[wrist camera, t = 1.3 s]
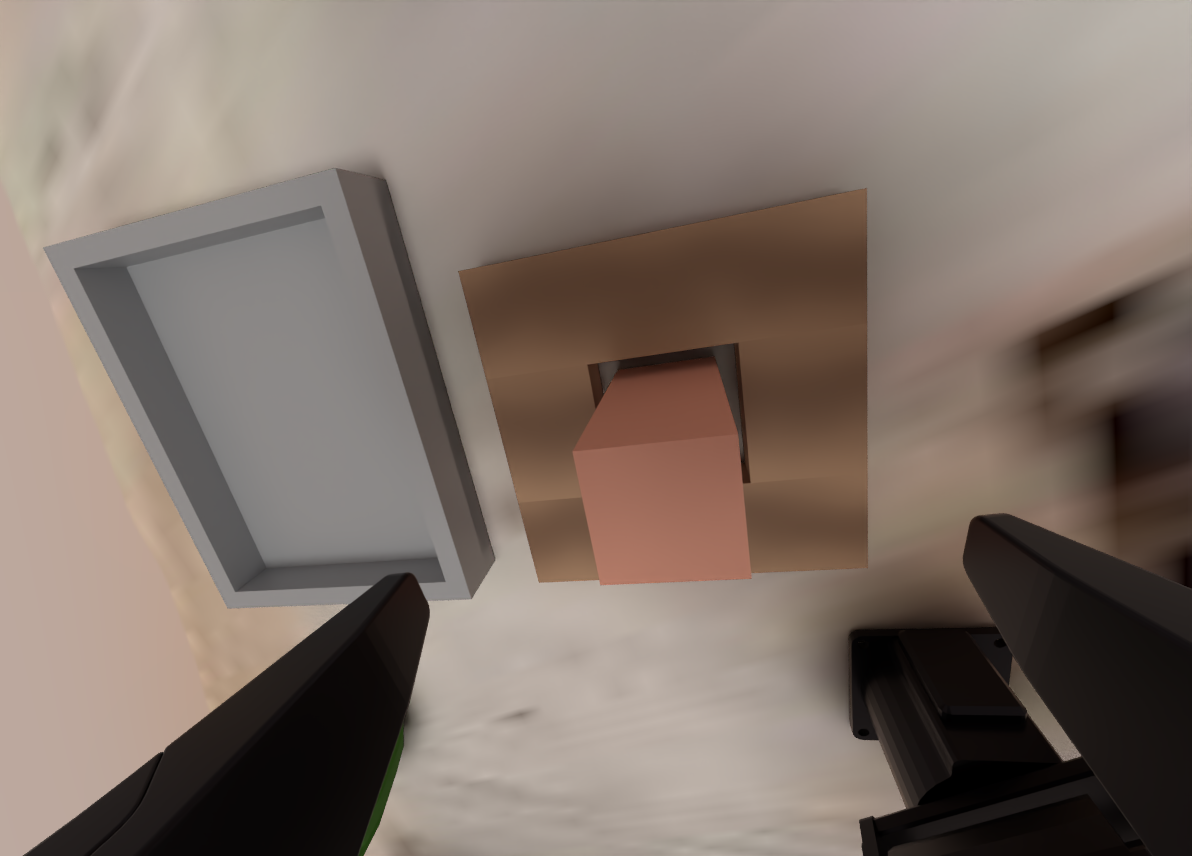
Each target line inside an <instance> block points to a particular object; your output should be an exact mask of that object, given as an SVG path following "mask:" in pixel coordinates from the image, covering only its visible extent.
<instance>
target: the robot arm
mask: <svg viewBox="0 0 1192 856" xmlns="http://www.w3.org/2000/svg"><path fill="white" fill-rule="evenodd" d="M963 564H964V568H965V571H966V573H967V575H968V577H969V579H970V581H971V583H972V584H973V586H974V588H975V590H976V591H977V593H978V595H979V597H980V598H981V600H982V602H983V604H984V605H985V607H986V609H987V611H988V612H989V614H990V616H991V618H992V619H993V621H994V623H995V625H996V627H982V628H929V629H877V630H856V631H854V632H852V633H851V634H850V635H849V692H850V726H851V729H852V732H853V735H854V736H855V737H856V738H858V739H862V740H879V742H880V744H881V746H882V749H883V751H884V754H885V756H886V759H887V761H888V764H889V766H890V769H891V771H892V774H893V776H894V779H895V781H896V784H897V786H898V789H899V791H900V794H901V796H902V799H903V801H904V804H905V806H906V809H904V810H901V811H898V812H894V813H891V814H888V815H884V816H881V817H878V818H874V817H873V816H870V817H867V818H864V819H860V820H859V823H860V829H861V836H862V842H863V843H862V851H863V856H1192V589H1191V588H1188V587H1186V586H1183V585H1181V584H1178V583H1176V582H1173V581H1171V580H1169V579H1166V578H1164V577H1161V576H1159V575H1156V574H1154V573H1152V572H1149V571H1147V570H1144V569H1142V568H1139V567H1137V566H1134V565H1132V564H1130V563H1127V562H1125V561H1122V560H1120V559H1117V558H1115V557H1112V556H1110V555H1108V554H1105V553H1103V552H1100V551H1098V550H1095V549H1093V548H1090V547H1088V546H1086V545H1083V544H1081V543H1078V542H1076V541H1073V540H1071V539H1068V538H1066V537H1064V536H1061V535H1059V534H1056V533H1054V532H1051V531H1049V530H1047V529H1044V528H1042V527H1039V526H1037V525H1034V524H1032V523H1029V522H1027V521H1025V520H1022V519H1020V518H1017V517H1015V516H1012V515H1010V514H1005V513H999V514H988V515H979V516H976V517H974V518H973V519H972V520H971V522H970V525H969V530H968V535H967V539H966V544H965V549H964V554H963ZM429 617H430V609H429V605H428V602H427V600H426V598H425V596H424V594H423V591H422V589H421V587H420V585H419V583H418V581H417V579H416V577H415V575H414V574H412V573H410V572H402V573H392V574H388V575H386V576H385V577H384V578H382V579H381V580H380V581H378V582H377V583H376V584H375V585H373V586H372V587H371V588H369V589H368V590H367V591H366V592H364V593H363V594H362V595H361V596H359V597H358V598H357V599H355V600H354V601H353V602H352V603H350V604H349V605H348V606H346V607H345V608H344V609H343V610H341V611H340V612H339V613H337V614H336V615H335V616H334V617H332V618H331V619H330V620H329V621H327V622H326V623H325V624H323V625H322V626H321V627H320V628H318V629H317V630H316V631H314V632H313V633H312V634H311V635H309V636H308V637H307V638H306V639H304V640H303V641H302V642H300V643H299V644H298V645H297V646H295V647H294V648H293V649H291V650H290V651H289V652H288V653H286V654H285V655H284V656H282V657H281V658H280V659H279V660H277V661H276V662H275V663H274V664H272V665H271V666H270V667H268V668H267V669H266V670H265V671H263V672H262V673H261V674H259V675H258V676H257V677H256V678H254V679H253V680H252V681H250V682H249V683H248V684H247V685H245V686H244V687H243V688H242V689H240V690H239V691H238V692H236V693H235V694H234V695H233V696H231V697H230V698H229V699H227V700H226V701H225V702H224V703H222V704H221V705H220V706H219V707H217V708H216V709H215V710H213V711H212V712H211V713H210V714H208V715H207V716H206V717H204V718H203V719H202V720H201V721H200V722H198V723H197V724H196V725H194V726H193V727H192V728H190V729H189V730H188V731H187V732H185V733H184V734H183V735H181V736H180V737H179V738H178V739H176V740H175V741H174V742H172V743H171V744H170V745H169V746H167V747H166V749H165V751H164V752H160V753H158V754H157V755H156V756H154V757H153V758H152V759H151V760H150V761H148V762H147V763H145V764H144V765H143V766H142V767H140V768H139V769H138V770H137V771H136V772H134V773H133V774H132V775H130V776H129V777H128V778H126V779H125V780H124V781H122V782H121V783H120V784H118V785H117V786H116V787H115V788H113V789H112V790H111V791H109V792H108V793H107V794H106V795H104V796H103V797H101V798H100V799H99V800H98V801H96V802H95V803H94V804H92V805H91V806H90V807H88V808H87V809H86V810H84V811H83V812H82V813H81V814H79V815H78V816H77V817H76V818H74V819H72V820H71V821H70V822H69V823H67V824H66V825H65V826H63V827H62V828H60V829H59V830H57V831H56V832H55V833H53V834H52V835H51V836H49V837H48V838H47V839H45V840H44V841H43V842H41V843H40V844H38V845H37V846H36V847H34V848H33V849H32V850H30V851H29V852H27V853H26V854H25V855H23V856H358V855H359V852H360V849H361V846H362V843H363V840H364V837H365V834H366V831H367V828H368V825H369V822H370V819H371V817H372V814H373V811H374V808H375V805H376V802H377V799H378V796H379V793H380V790H381V787H382V784H383V781H384V778H385V775H386V772H387V769H388V766H389V763H390V760H391V757H392V754H393V751H394V748H395V745H396V743H397V740H398V737H399V734H400V731H401V728H402V725H403V722H404V719H405V715H406V712H407V709H408V706H409V702H410V698H411V695H412V691H413V686H414V682H415V678H416V674H417V669H418V665H419V661H420V657H421V652H422V648H423V644H424V640H425V635H426V631H427V627H428V622H429ZM1000 638H1001V639H1000ZM997 639H999V640H997ZM862 640H864V642H861V643H859V641H862ZM995 640H997V641H995ZM1012 655H1013V656H1014V658H1015V660H1016V661H1017V663H1018V665H1019V666H1020V668H1021V669H1022V671H1023V673H1024V674H1025V676H1026V677H1027V679H1028V680H1029V682H1030V683H1031V684H1032V686H1033V687H1034V689H1035V690H1036V692H1037V693H1038V695H1039V696H1040V697H1041V699H1042V700H1043V702H1044V703H1045V705H1046V706H1047V707H1048V709H1049V710H1050V712H1051V713H1052V714H1053V716H1054V717H1055V719H1056V720H1057V722H1058V723H1059V724H1060V726H1061V727H1062V729H1063V730H1064V731H1065V733H1066V734H1067V736H1068V737H1069V739H1070V740H1071V741H1072V743H1073V744H1074V746H1075V747H1076V748H1077V750H1078V751H1079V753H1080V754H1081V757H1078V758H1074V759H1071V760H1068V761H1063V760H1062V759H1061V757H1060V756H1059V755H1058V753H1057V752H1056V751H1055V749H1054V748H1053V747H1052V745H1051V744H1050V743H1049V741H1048V740H1047V739H1046V737H1045V736H1044V735H1043V733H1042V732H1041V731H1040V729H1039V728H1038V727H1037V725H1036V724H1035V723H1034V721H1033V720H1032V719H1031V717H1030V716H1029V715H1028V713H1027V711H1026V708H1025V707H1024V706H1023V704H1022V703H1021V702H1020V700H1019V699H1018V698H1017V696H1016V695H1015V694H1014V692H1013V691H1012V690H1011V688H1010V687H1009V680H1010V671H1011V663H1012Z"/></svg>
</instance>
